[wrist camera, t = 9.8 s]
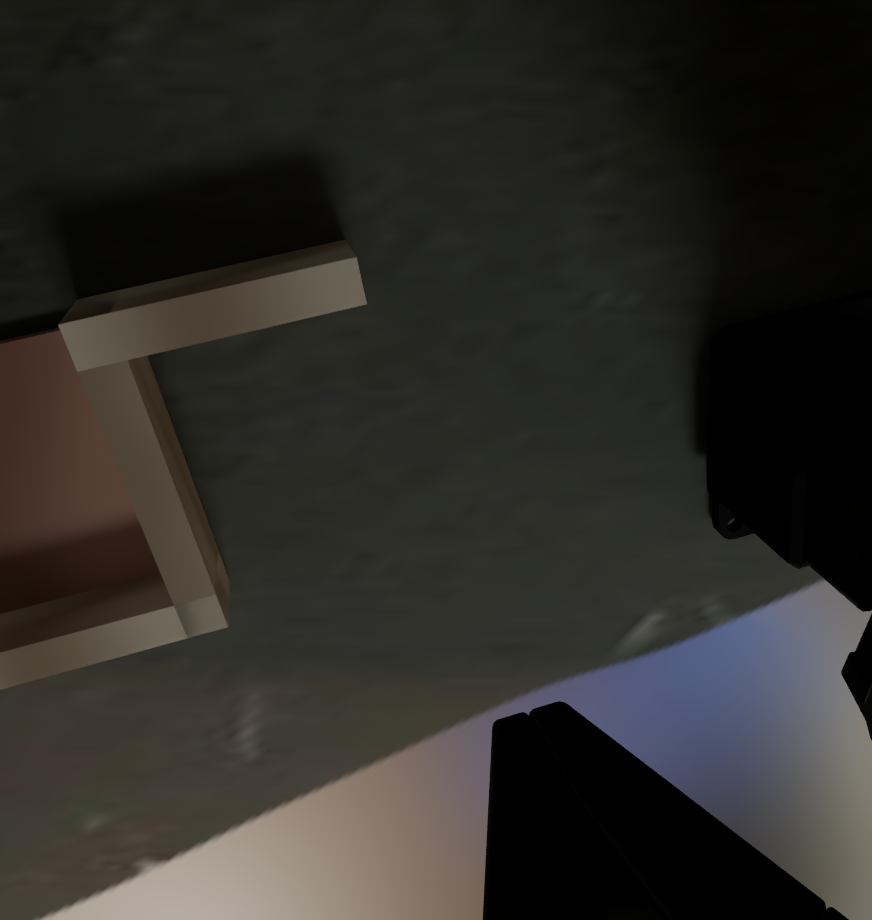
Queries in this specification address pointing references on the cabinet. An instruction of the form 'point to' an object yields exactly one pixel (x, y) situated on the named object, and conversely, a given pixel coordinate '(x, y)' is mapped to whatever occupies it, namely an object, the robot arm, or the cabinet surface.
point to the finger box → (124, 463)
